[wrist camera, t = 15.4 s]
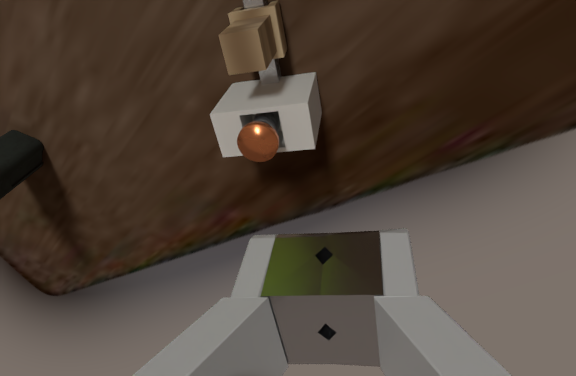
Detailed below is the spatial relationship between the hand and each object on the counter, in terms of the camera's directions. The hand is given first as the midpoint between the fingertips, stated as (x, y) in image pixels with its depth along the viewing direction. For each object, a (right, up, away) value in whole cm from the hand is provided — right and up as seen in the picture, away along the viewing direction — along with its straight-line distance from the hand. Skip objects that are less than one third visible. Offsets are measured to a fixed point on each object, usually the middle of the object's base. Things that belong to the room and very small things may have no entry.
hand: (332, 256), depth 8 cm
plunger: (-3, +9, +35) cm, 37 cm away
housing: (-2, +12, +40) cm, 42 cm away
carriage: (-4, +19, +36) cm, 40 cm away
